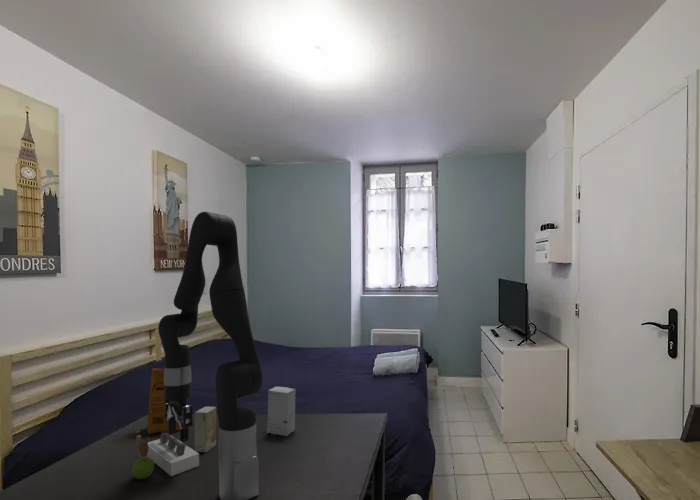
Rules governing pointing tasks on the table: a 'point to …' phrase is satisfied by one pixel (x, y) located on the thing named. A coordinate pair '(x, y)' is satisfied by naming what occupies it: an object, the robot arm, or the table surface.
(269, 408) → the skincare box
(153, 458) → the strip
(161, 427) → the coffee package
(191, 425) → the robot arm
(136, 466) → the snail figurine
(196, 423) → the skincare box
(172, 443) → the breaker paddles
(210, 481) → the table surface
